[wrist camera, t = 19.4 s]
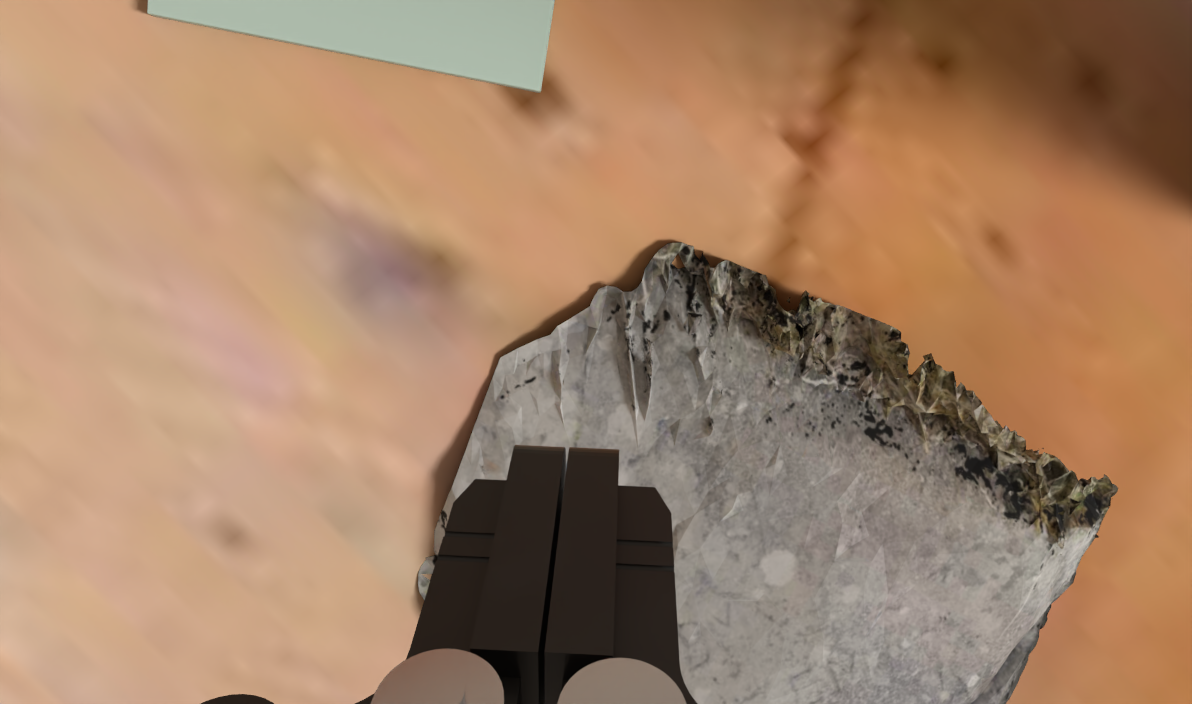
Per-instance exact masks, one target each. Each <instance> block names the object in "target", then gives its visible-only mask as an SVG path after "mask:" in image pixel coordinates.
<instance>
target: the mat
mask: <svg viewBox="0 0 1192 704" xmlns="http://www.w3.org/2000/svg"><path fill="white" fill-rule="evenodd" d="M554 2H555V0H148V10H147V13H148V14H150V15H152V16H155V17H160V18H165V19H170V20H175V21H180V22H185V23H190V24H195V25H200V26H205V27H210V28H215V29H220V30H225V31H230V32H235V33H241V34H246V35H251V36H256V37H261V38H266V39H271V40H276V41H281V42H286V43H291V44H296V45H301V46H306V47H311V48H316V49H321V50H326V51H331V52H336V53H341V54H346V55H352V56H357V57H362V58H367V59H372V60H377V61H382V62H387V63H392V64H397V65H402V66H407V67H412V68H417V69H422V70H427V71H432V72H437V73H442V74H447V75H452V76H457V77H463V78H468V79H473V80H478V81H483V82H488V83H493V84H498V85H503V86H508V87H513V88H518V89H523V90H528V91H533V92H538V93H540V92H541V87H542V80H543V74H544V67H545V60H546V54H547V47H548V41H549V34H550V28H551V21H552V15H553V8H554Z"/></svg>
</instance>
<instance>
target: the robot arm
mask: <svg viewBox="0 0 1192 704" xmlns="http://www.w3.org/2000/svg"><path fill="white" fill-rule="evenodd" d="M618 478H619V449H598V448H577V447H569V452H568V460H567V468H566V449H565V447H551V446H530V445H515V446H514V448H513V452H512V457H511V461H510V466H509V470H508V475H507V480H490V479H475V480H474V481H473V482H472V483H471V484H470V485H469V486H468V487H467V488H466V489H465V491H464V492H463V493H462V494H461V495H460V496H459V497H458V498H457V499H456V500H455V501H454V502H453V505H452V509H451V512H450V516H449V519H448V522H447V526H446V529H445V536H444V537H443V539H442V543H441V546H440V549H439V553H438V560H437V561H436V563H435V566H434V570H433V573H432V576H431V580H430V583H429V587H428V590H427V593H426V597H425V600H424V604H423V607H422V610H421V614H420V617H419V620H418V624H417V627H416V631H415V634H414V637H413V641H412V644H411V648H410V650H409V653H408V656H407V658H406V660H405V661H403V662H402V663H400V664H399V665H398V666H396V667H395V668H394V669H393V670H392V671H391V672H390V673H389V674H388V675H387V676H386V677H385V678H384V679H383V681H382V682H381V683H380V685H379V687H378V689H377V690H376V692H375V693H374V694H373V695H371V696H369V697H368V698H366V699H364V700H362V701H360V702H358V703H355V704H697V702H696V701H695V700H694V698H693V697H692V696H691V694H690V693H689V691H688V689H687V687H686V685H685V683H684V680H683V677H682V674H681V669H680V661H679V643H678V625H677V606H676V588H675V572H674V552H673V534H672V516H671V512H670V510H669V508H668V507H667V505H666V504H665V502H664V501H663V499H662V497H661V496H660V494H659V493H658V491H657V489H656V488H655V487H641V486H620V485H618ZM201 704H274V703H272V702H270V701H268V700H266V699H265V698H261V697H258V696H254V695H246V694H238V695H228V696H222V697H218V698H215V699H211V700H208V701H206V702H203V703H201Z"/></svg>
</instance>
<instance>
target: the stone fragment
mask: <svg viewBox="0 0 1192 704" xmlns="http://www.w3.org/2000/svg"><path fill="white" fill-rule="evenodd" d="M678 253H679V256H680V258H681V260H682V262H683V264H684V266H685V267H684V268H681V269H677V268H676V267H675V266H674V265H673V264H672V262H673V260H674V258H675V257H676V255H677V254H678ZM808 295H809V293H808V292H807V291H805V292H804V293H803V295H802V297H801V300H800V303H799V306H798V308H797V311H794V310H791V311H788V312H787V311H785V310H784V309H783V308H782V307H781V306H780V304H779V302H778V301H777V298H776V289H774V288H773V287H772V286H768V281H767V278H766V275H763V274H760V273H758V272H754V271H752V270H749V269H747V268H744V267H742V266H740V265H738V264H735V263H733V262H731V261H727V260H725V261H723V262H721V263H719V264H718V265H717V266H716V267H715V268H710V266H709V263H708V262H707V260H706V258H705V257H704V255H703V253H702V255H701V258H700V259H699V258H698V257H697V256H696V255H695V254H694V247H693V246H690V245H687V244H684V243H682V242H680V243H669V244H667V245H665V246H664V247H662V248H661V249H660V250H659V251H658V252H657V253H656V254H655V255H654V257H653V258H652V259H651V261H650V262H649V264H648V265H647V267H646V268H645V271H644V275H643V279H642V282H641V283H640V285H639V286H638V288H636V289H635V290H633V291H632V292H623V291H621V290H620V289H618V288H617V287H612V286H605V287H602V288H600V289H598V291H597V293H596V295H595V296H594V298H593V300H592V302H591V304H590V306H589V307H588V308H586V309H585V310H583V311H581V312H580V313H578V314H577V315H575V316H573V317H572V318H570V319H569V320H567V321H565V322H563V323H562V324H560V325H558V326H557V327H556V328H555V330H554V331H553V332H552V333H551V334H550V335H548V336H545V337H542V338H539V339H537V340H535V341H532V342H530V343H528V344H526V345H524V346H521V347H519V348H517V349H515V350H513V351H512V352H510V353H508V354H506V355H504V356H502V357H500V360H499V362H498V365H497V368H496V370H495V373H494V375H493V378H492V381H491V383H490V386H489V389H488V391H487V394H486V396H485V399H484V402H483V404H482V407H481V410H480V412H479V415H478V418H477V420H476V423H475V426H474V428H473V431H472V434H471V437H470V440H469V442H468V445H467V448H466V451H465V453H464V456H463V459H462V461H461V464H460V467H459V469H458V472H457V475H456V477H455V480H454V483H453V486H452V488H451V490H450V492H449V494H448V497H447V500H446V503H445V506H444V508H443V510H442V512H441V514H440V517H439V520H438V522H437V526H436V528H435V532H434V552H435V554H436V555H434V556H431V557H427V558H426V560H425V562H424V563H423V564H422V566H421V568H420V571H419V574H418V586H419V592H420V594H421V596H422V597H423V599H424V600H425V597H426V593H427V590H428V587H429V583H430V580H429V579H427V578H426V577H424V576H423V575H421V574H432V573H433V570H434V566H435V563H436V561H437V560H438V553H439V549H440V546H441V543H442V539H443V537H444V536H445V529H446V526H447V522H448V519H449V516H450V512H451V509H452V505H453V502H454V501H455V500H456V499H457V498H458V497H459V496H460V495H461V494H462V493H463V492H464V491H465V489H466V488H467V487H468V486H469V485H470V484H471V483H472V482H473V481H474V480H475V479H490V480H507V475H508V470H509V466H510V461H511V457H512V452H513V448H514V446H515V445H530V446H551V447H565V449H566V468H567V460H568V452H569V447H577V448H598V449H619V478H618V485H620V486H641V487H655V488H656V489H657V491H658V493H659V494H660V496H661V497H662V499H663V501H664V502H665V504H666V505H667V507H668V508H669V510H670V512H671V516H672V534H673V552H674V572H675V588H676V606H677V625H678V643H679V661H680V669H681V674H682V677H683V680H684V683H685V685H686V687H687V689H688V691H689V693H690V694H691V696H692V697H693V698H694V700H695V701H696V702H697V704H1006V702H1007V701H1008V700H1009V698H1010V697H1011V695H1012V693H1013V691H1014V689H1015V687H1016V685H1017V683H1018V681H1019V678H1020V676H1021V674H1022V672H1023V670H1024V668H1025V666H1026V663H1027V661H1028V656H1029V654H1030V653H1031V651H1032V650H1033V649H1034V647H1035V646H1036V644H1037V641H1038V638H1039V630H1040V629H1041V628H1043V627H1044V625H1045V623H1046V621H1047V614H1048V612H1049V610H1050V608H1051V604H1052V603H1053V602H1054V601H1055V600H1056V599H1057V598H1058V597H1059V596H1060V595H1061V594H1062V593H1063V592H1064V591H1065V590H1066V589H1067V588H1068V587H1069V586H1070V585H1071V584H1072V583H1073V581H1074V578H1075V575H1076V569H1077V567H1078V564H1079V562H1080V560H1081V557H1082V556H1083V554H1084V553H1085V551H1086V550H1087V549H1088V547H1089V546H1090V544H1091V543H1092V541H1093V540H1094V539H1095V537H1098V536H1097V535H1096V533H1097V532H1098V530H1099V528H1100V525H1101V522H1102V520H1103V518H1104V516H1105V514H1106V512H1107V511H1108V509H1109V507H1108V506H1110V501H1111V497H1112V496H1114V495H1115V494H1116V493H1117V490H1118V488H1117V486H1116V485H1114V484H1112V483H1111V481H1110V479H1109V478H1108V477H1107V476H1106V475H1105V474H1104V477H1103V478H1101V479H1099V480H1097V479H1096V478H1095V477H1091V478H1090V479H1089V480H1086V479H1083V478H1082V479H1080V480H1079V481H1078V479H1077V477H1076V474H1075V473H1074V472H1073V471H1070V472H1069V470H1068V469H1067V468H1066V467H1065V465H1064V464H1063V463H1062V462H1061V461H1060V460H1059V459H1058V458H1056V457H1055V456H1053V455H1050V454H1047V453H1045V452H1044V453H1043V454H1040V455H1038V454H1039V450H1037V451H1033V450H1026V442H1025V439H1024V438H1023V437H1021V436H1018V435H1017V432H1016V431H1012V432H1010V430H1009V428H1008V427H1007V426H1006V425H1005V427H1004V428H1002V427H1001V426H1000V424H999V423H998V422H997V421H994V420H993V418H992V416H991V415H990V414H989V412H988V411H987V410H986V409H985V407H984V406H983V405H981V403H982V402H981V401H980V400H979V399H978V398H977V397H976V395H975V393H974V391H968V390H966V389H965V386H964V385H963V384H962V383H960V384H959V386H958V387H957V388H956V381H955V376H954V372H953V371H951V372H947V371H945V370H943V369H942V367H941V366H939V365H937V364H935V362H934V359H933V357H932V354H928V355H925V356H923V357H924V359H925V361H924V362H923V363H922V364H921V365H920V366H919V368H918V369H917V370H916V371H915V372H914V373H913V374H912V375H910V374H908V363H907V362H908V358H909V354H910V352H909V349H908V345H907V344H905V343H903V342H902V341H901V332H900V331H899V330H897V329H896V328H894V327H892V326H890V325H887V324H885V323H882V322H880V321H878V320H875V319H872V318H870V317H867V316H864V315H862V314H860V313H857V312H854V311H852V310H850V309H847V308H845V307H843V306H840V305H833V304H831V303H824V302H822V300H821V298H819V299H817V300H816V301H815V302H813V301H812V300H813V297H811V298H809V297H808ZM814 298H815V297H814ZM787 302H789V303H790V297H789V299H788V300H787ZM1015 435H1016V436H1015ZM1038 449H1039V448H1038ZM1042 449H1044V448H1042ZM1098 538H1099V537H1098Z"/></svg>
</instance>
